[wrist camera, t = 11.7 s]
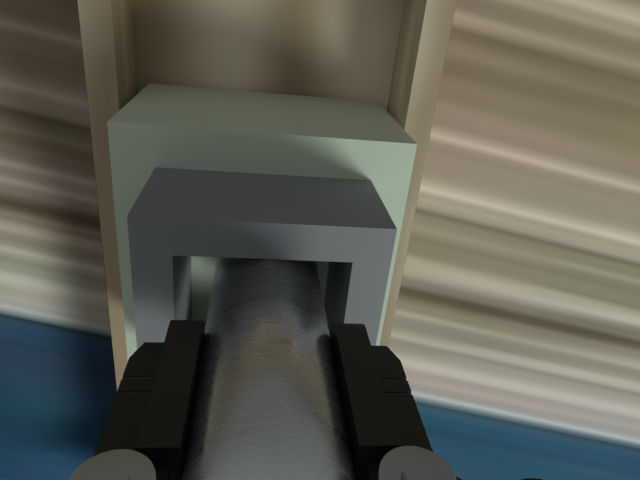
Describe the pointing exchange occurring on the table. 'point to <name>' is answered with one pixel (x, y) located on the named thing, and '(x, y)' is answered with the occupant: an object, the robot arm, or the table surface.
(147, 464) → the robot arm
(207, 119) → the square socket block
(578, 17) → the table surface
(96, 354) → the table surface
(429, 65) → the bay
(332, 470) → the peg
